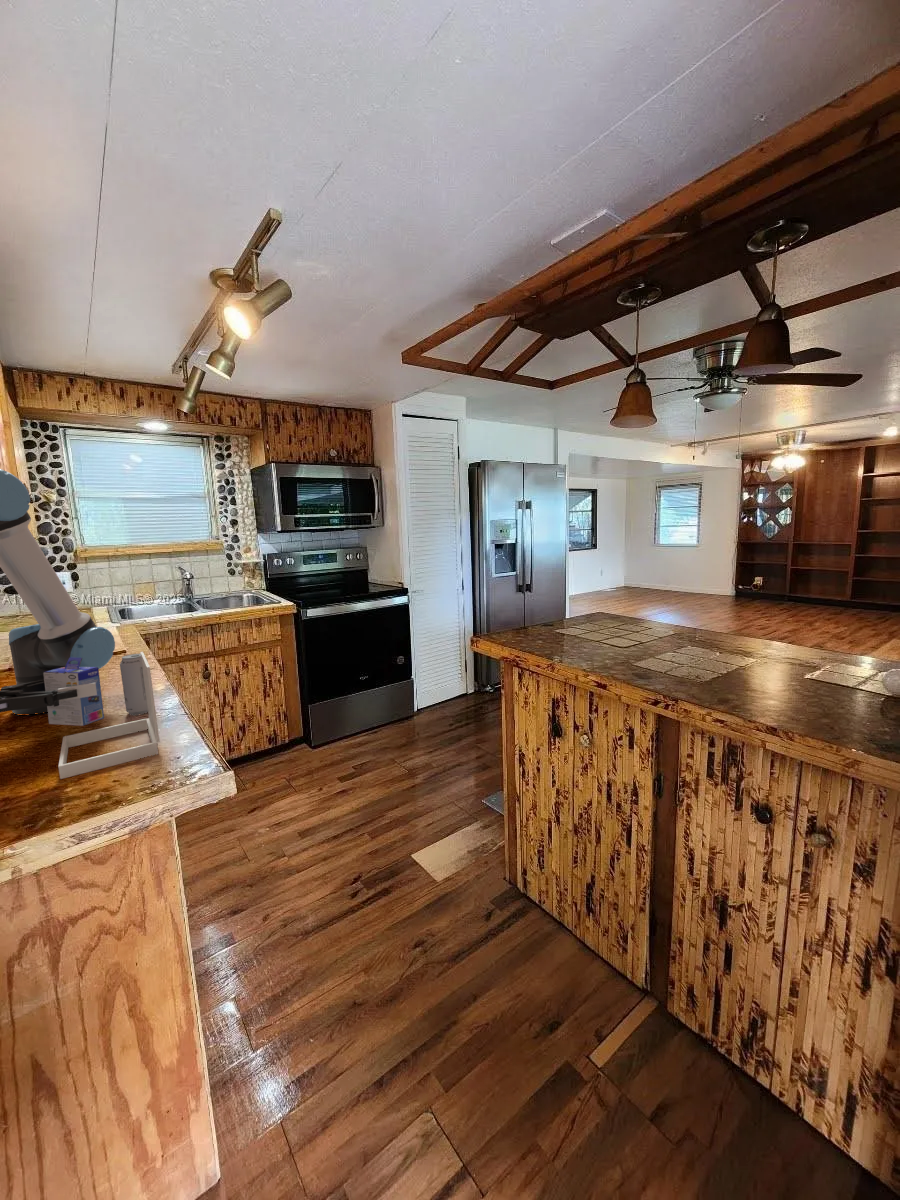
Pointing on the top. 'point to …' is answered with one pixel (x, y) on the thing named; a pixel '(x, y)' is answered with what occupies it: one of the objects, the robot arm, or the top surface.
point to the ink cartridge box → (80, 708)
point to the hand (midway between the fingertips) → (96, 683)
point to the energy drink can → (133, 684)
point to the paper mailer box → (111, 732)
